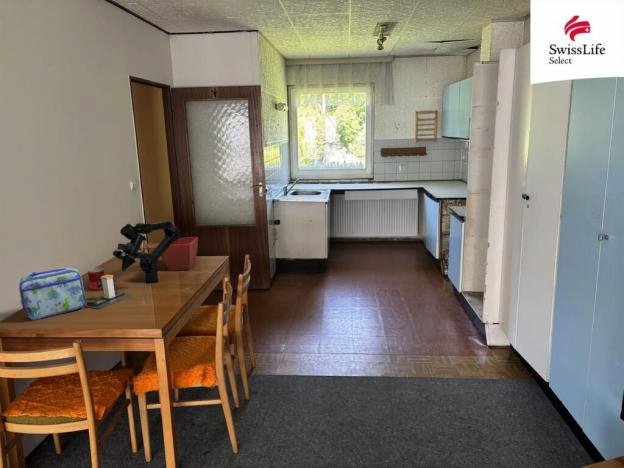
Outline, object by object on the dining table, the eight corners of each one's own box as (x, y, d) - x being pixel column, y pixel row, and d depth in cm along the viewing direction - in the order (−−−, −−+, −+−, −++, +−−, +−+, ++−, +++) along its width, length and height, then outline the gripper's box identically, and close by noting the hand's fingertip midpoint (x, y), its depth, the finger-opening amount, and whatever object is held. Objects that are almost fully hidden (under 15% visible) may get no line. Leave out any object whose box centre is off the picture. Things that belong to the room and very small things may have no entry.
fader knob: (110, 295, 238) (107, 274, 236) (116, 296, 236) (113, 275, 234) (103, 298, 234) (100, 277, 232) (109, 298, 233) (106, 277, 230)
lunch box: (24, 323, 210) (16, 279, 205) (23, 316, 219) (15, 273, 214) (87, 309, 223) (81, 267, 219) (84, 303, 232) (78, 262, 228)
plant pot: (171, 264, 297) (168, 238, 293) (201, 262, 296) (198, 236, 292) (161, 273, 278) (157, 245, 274) (192, 271, 277) (189, 243, 273)
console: (114, 292, 246) (113, 288, 245) (131, 295, 241) (131, 290, 240) (82, 306, 228) (81, 301, 227) (100, 309, 223) (99, 304, 222)
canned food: (100, 291, 250) (97, 271, 247) (87, 290, 251) (84, 271, 249) (109, 286, 257) (106, 267, 255) (96, 286, 259) (93, 266, 256)
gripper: (112, 235, 247) (98, 262, 240) (138, 237, 239) (125, 264, 232) (125, 245, 255) (113, 271, 249) (152, 248, 248) (140, 274, 241)
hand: (122, 270), depth 242 cm, fingers closed
